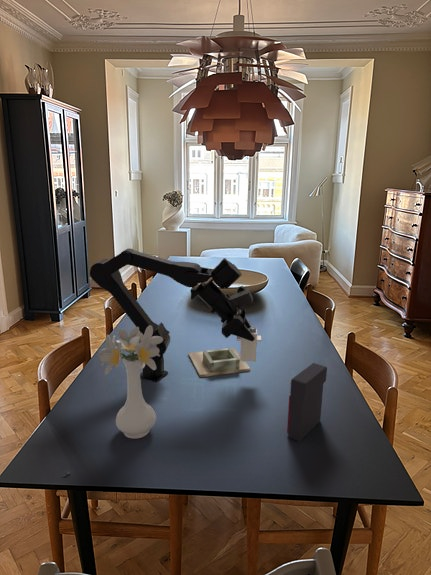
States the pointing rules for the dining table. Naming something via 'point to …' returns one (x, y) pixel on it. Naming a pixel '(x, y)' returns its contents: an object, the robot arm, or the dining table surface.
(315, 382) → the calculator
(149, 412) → the flower vase
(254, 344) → the block
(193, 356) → the plate
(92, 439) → the dining table surface
